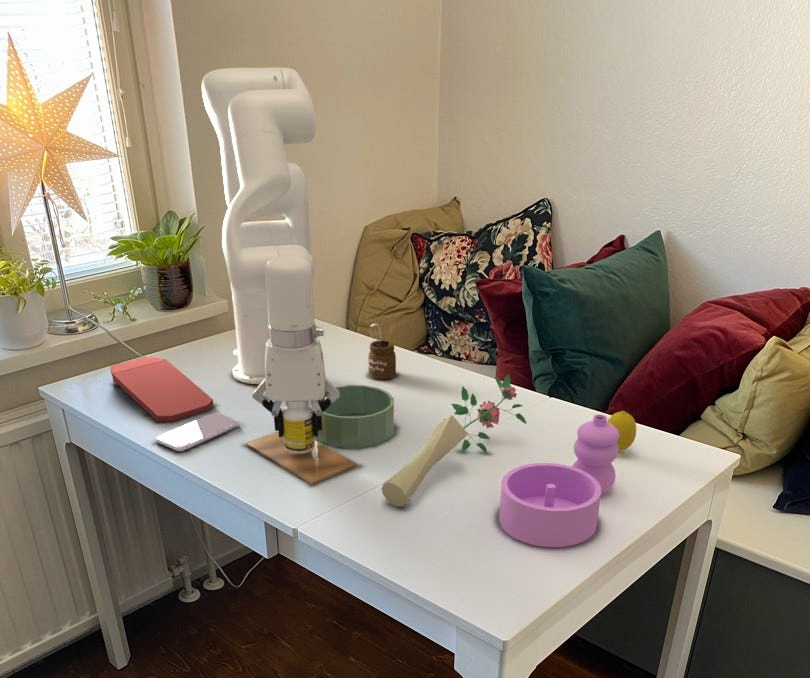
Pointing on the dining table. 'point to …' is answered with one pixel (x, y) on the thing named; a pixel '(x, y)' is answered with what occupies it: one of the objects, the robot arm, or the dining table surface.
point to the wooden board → (303, 459)
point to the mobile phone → (197, 432)
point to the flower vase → (445, 444)
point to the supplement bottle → (298, 427)
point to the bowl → (361, 428)
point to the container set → (561, 491)
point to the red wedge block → (160, 388)
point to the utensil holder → (382, 357)
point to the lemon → (624, 428)
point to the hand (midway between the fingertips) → (298, 432)
